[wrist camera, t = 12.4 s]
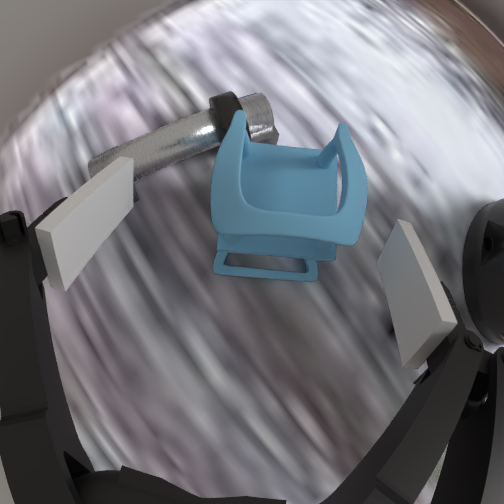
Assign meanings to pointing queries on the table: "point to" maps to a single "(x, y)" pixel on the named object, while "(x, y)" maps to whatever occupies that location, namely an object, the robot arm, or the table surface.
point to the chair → (285, 201)
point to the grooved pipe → (192, 135)
